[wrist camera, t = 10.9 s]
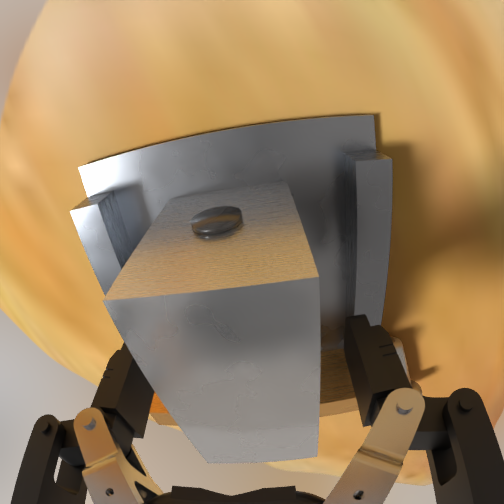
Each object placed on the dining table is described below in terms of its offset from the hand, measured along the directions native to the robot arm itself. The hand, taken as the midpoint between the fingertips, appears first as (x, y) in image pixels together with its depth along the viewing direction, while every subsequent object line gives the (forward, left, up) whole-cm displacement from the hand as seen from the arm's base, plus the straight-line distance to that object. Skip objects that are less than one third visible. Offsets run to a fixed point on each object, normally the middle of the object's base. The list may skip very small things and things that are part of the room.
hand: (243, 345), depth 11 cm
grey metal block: (0, 0, -4) cm, 4 cm away
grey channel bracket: (+1, 0, -4) cm, 4 cm away
